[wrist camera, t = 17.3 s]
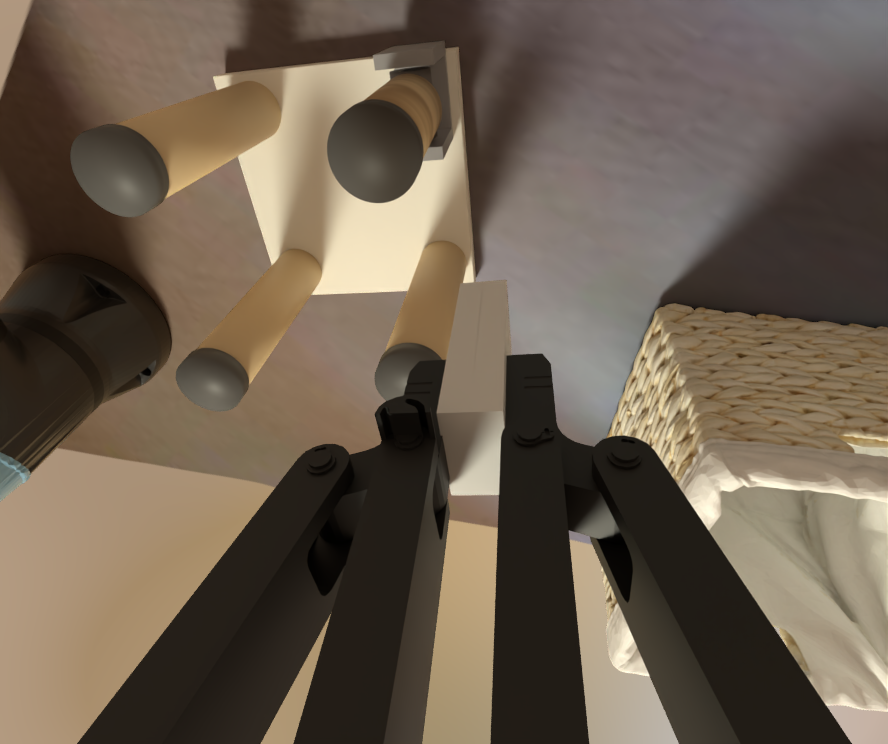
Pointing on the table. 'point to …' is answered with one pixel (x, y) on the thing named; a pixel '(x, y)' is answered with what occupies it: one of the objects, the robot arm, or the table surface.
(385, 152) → the hinged leg
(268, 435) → the table surface
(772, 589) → the basket
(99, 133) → the stool seat
